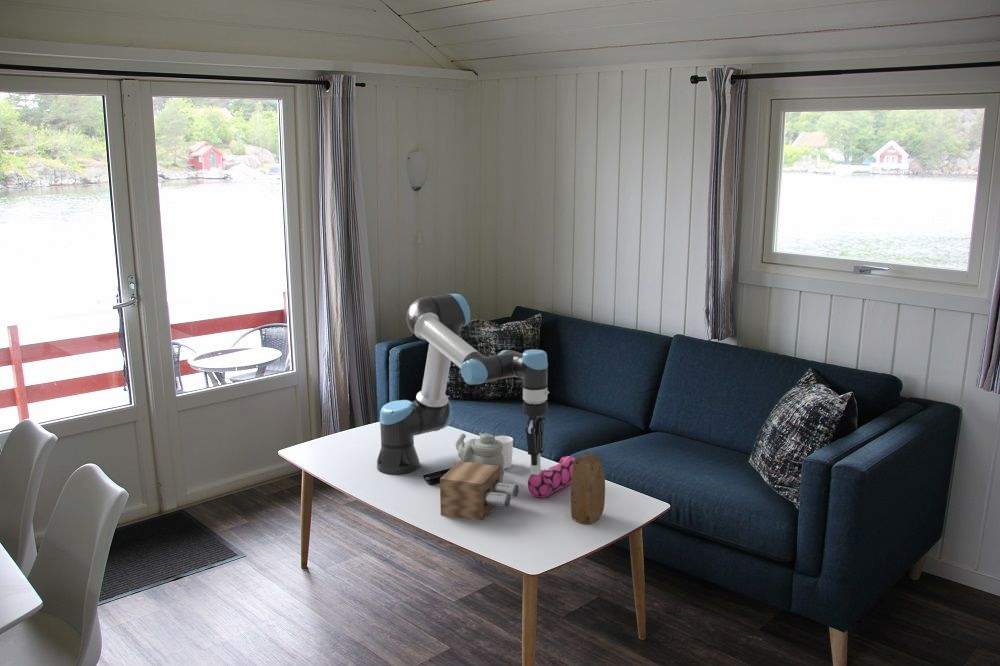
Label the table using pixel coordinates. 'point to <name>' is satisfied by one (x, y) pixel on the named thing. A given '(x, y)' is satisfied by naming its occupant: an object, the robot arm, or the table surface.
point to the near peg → (497, 499)
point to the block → (587, 489)
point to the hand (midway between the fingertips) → (535, 473)
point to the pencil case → (551, 478)
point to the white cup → (506, 449)
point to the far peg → (506, 489)
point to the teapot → (481, 451)
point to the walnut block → (467, 490)
